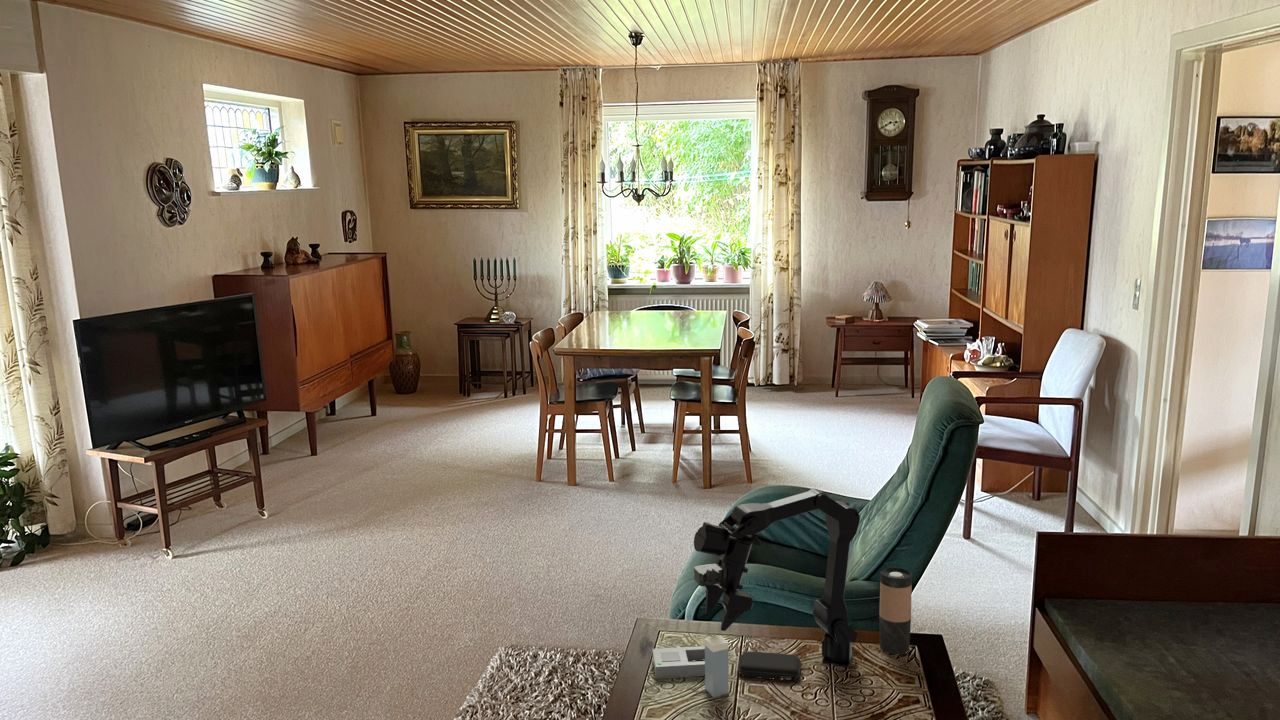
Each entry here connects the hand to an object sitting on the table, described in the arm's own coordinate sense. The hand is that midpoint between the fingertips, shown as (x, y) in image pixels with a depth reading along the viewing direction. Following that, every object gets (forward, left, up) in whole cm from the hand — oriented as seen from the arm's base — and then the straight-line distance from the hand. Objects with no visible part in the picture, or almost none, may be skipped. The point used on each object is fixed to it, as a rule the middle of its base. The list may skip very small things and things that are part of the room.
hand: (715, 622), depth 205 cm
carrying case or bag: (-10, -10, -16) cm, 21 cm away
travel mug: (-36, -33, -15) cm, 51 cm away
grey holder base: (+9, -4, -15) cm, 18 cm away
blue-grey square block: (-2, +4, -15) cm, 16 cm away
